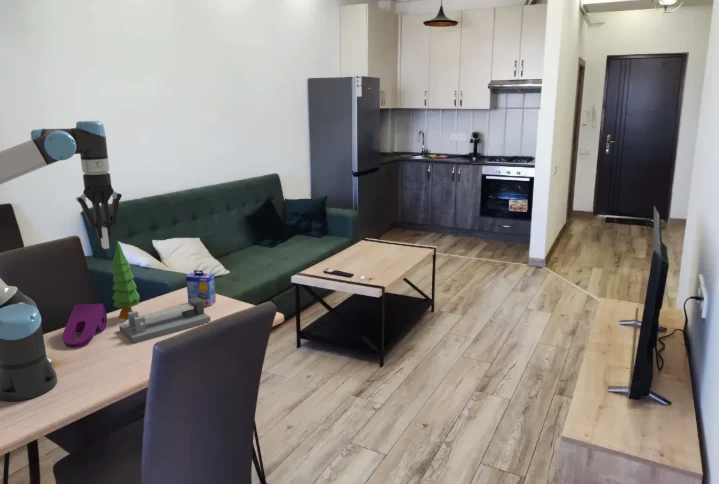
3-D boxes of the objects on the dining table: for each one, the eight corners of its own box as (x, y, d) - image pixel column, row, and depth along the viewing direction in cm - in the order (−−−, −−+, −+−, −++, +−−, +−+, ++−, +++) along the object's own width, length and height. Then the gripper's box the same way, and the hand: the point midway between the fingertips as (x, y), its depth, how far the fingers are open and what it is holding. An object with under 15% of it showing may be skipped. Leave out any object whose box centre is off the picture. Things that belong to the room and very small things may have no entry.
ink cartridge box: (187, 305, 217) (184, 270, 213) (193, 300, 222) (190, 266, 218) (211, 306, 215) (208, 271, 212) (216, 301, 221) (214, 267, 217)
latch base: (133, 343, 183) (131, 324, 181) (119, 330, 193) (117, 312, 191) (210, 321, 200) (209, 304, 198) (194, 311, 210) (193, 294, 209)
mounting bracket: (94, 359, 184) (108, 319, 198) (87, 343, 179) (102, 303, 193) (65, 360, 183) (81, 320, 197) (57, 344, 178) (75, 304, 192)
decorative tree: (123, 311, 210) (114, 236, 203) (147, 311, 210) (138, 236, 202) (111, 321, 201) (101, 243, 193) (135, 321, 200) (127, 243, 193)
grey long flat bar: (136, 325, 187) (135, 320, 187) (132, 321, 190) (131, 317, 190) (193, 309, 200) (193, 305, 200) (189, 306, 203) (188, 302, 203)
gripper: (76, 176, 158) (86, 253, 164) (122, 172, 166) (130, 246, 172) (69, 173, 163) (79, 248, 169) (114, 170, 172) (123, 241, 178)
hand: (105, 247), depth 171 cm, fingers closed
